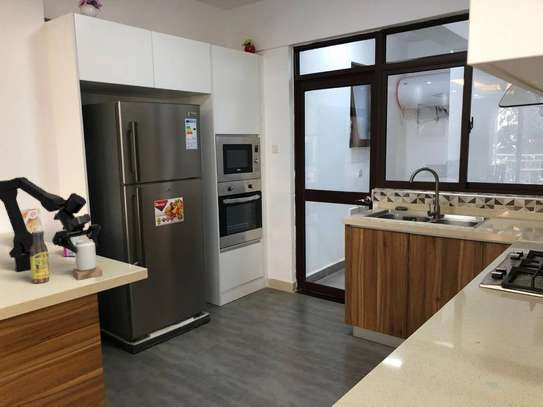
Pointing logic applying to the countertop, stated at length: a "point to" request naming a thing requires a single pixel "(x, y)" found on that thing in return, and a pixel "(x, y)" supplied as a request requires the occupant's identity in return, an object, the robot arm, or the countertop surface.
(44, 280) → the sauce bottle
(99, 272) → the walnut plinth
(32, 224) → the coffeecake box
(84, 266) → the can
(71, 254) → the supplement box
